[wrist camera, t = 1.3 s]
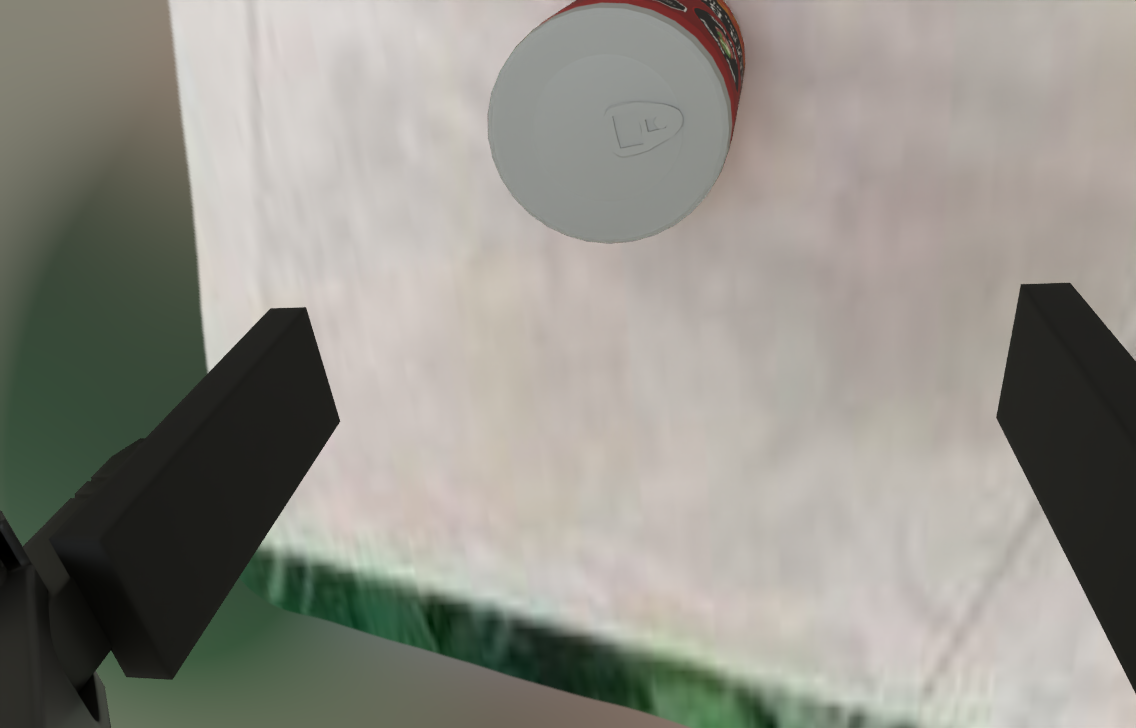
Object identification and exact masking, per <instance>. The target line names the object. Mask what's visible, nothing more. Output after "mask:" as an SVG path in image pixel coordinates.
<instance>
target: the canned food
mask: <svg viewBox="0 0 1136 728" xmlns="http://www.w3.org/2000/svg"><path fill="white" fill-rule="evenodd" d="M744 69H745V54H744V43H743V39H742V36H741V32H740V29H739V26H738V24H737V22H736V20H735V18H734V16H733V14H732V12H731V10H730V9H729V7H728V6H727V5H726V4H725V3H724V1H723V0H576V1H575V2H573V3H571V4H570V5H568V6H567V7H565V8H564V9H562V10H561V11H559V12H558V13H556V14H554V15H553V16H551V17H550V18H548V19H547V20H545V21H544V22H542V23H541V24H540V25H539V26H538V27H536V28H535V29H533V30H532V31H531V32H530V33H529V34H528V35H527V36H526V37H525V38H524V39H523V40H522V41H521V42H520V43H519V44H518V45H517V46H516V48H515V49H514V51H513V52H512V53H511V55H510V57H509V58H508V60H507V61H506V63H505V64H504V66H503V67H502V69H501V70H500V72H499V75H498V78H497V80H496V83H495V85H494V88H493V90H492V93H491V99H490V105H489V110H488V139H489V143H490V148H491V153H492V157H493V160H494V163H495V165H496V167H497V170H498V172H499V174H500V177H501V179H502V181H503V182H504V184H505V185H506V187H507V188H508V190H509V191H510V193H511V194H512V196H513V197H514V198H515V199H516V200H517V202H518V203H519V204H520V205H521V206H522V207H523V208H524V209H525V210H526V211H527V212H528V213H529V214H531V215H532V216H533V217H535V218H536V219H537V220H539V221H540V222H542V223H543V224H544V225H546V226H547V227H549V228H552V229H554V230H556V231H558V232H560V233H562V234H564V235H566V236H570V237H573V238H577V239H580V240H584V241H588V242H598V243H609V244H611V243H622V242H632V241H636V240H640V239H643V238H647V237H651V236H654V235H656V234H658V233H660V232H662V231H664V230H666V229H668V228H670V227H672V226H674V225H675V224H677V223H678V222H679V221H681V220H682V219H683V218H685V217H686V216H687V215H689V214H690V213H691V212H692V211H693V210H694V209H695V208H696V207H697V206H698V205H699V204H700V202H701V201H702V200H703V199H704V198H705V197H706V196H707V194H708V193H709V191H710V190H711V188H712V186H713V185H714V183H715V181H716V179H717V178H718V176H719V174H720V173H721V171H722V168H723V165H724V163H725V160H726V157H727V154H728V151H729V148H730V143H731V141H732V136H733V131H734V126H735V120H736V115H737V110H738V104H739V99H740V94H741V88H742V83H743V76H744Z"/></svg>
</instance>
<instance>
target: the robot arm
mask: <svg viewBox="0 0 1136 728" xmlns="http://www.w3.org/2000/svg"><path fill="white" fill-rule="evenodd" d="M996 418H997V420H998V422H999V424H1000V426H1001V428H1002V430H1003V432H1004V434H1005V436H1006V438H1007V440H1008V442H1009V444H1010V446H1011V448H1012V450H1013V452H1014V454H1015V456H1016V458H1017V460H1018V462H1019V464H1020V465H1021V467H1022V469H1023V471H1024V473H1025V475H1026V477H1027V479H1028V481H1029V483H1030V485H1031V487H1032V489H1033V491H1034V493H1035V495H1036V497H1037V499H1038V501H1039V503H1040V505H1041V507H1042V509H1043V511H1044V513H1045V515H1046V517H1047V519H1048V521H1049V523H1050V525H1051V527H1052V529H1053V531H1054V533H1055V535H1056V537H1057V539H1058V541H1059V543H1060V545H1061V547H1062V549H1063V551H1064V553H1065V555H1066V557H1067V559H1068V561H1069V562H1070V564H1071V566H1072V568H1073V570H1074V572H1075V574H1076V576H1077V578H1078V580H1079V582H1080V584H1081V586H1082V588H1083V590H1084V592H1085V594H1086V596H1087V598H1088V600H1089V602H1090V604H1091V606H1092V608H1093V610H1094V612H1095V614H1096V616H1097V618H1098V620H1099V622H1100V624H1101V626H1102V628H1103V630H1104V632H1105V634H1106V636H1107V638H1108V640H1109V642H1110V644H1111V646H1112V648H1113V650H1114V652H1115V654H1116V656H1117V658H1118V660H1119V661H1120V663H1121V665H1122V667H1123V669H1124V671H1125V673H1126V675H1127V677H1128V679H1129V681H1130V683H1131V685H1132V687H1133V689H1134V691H1135V693H1136V361H1135V360H1134V359H1133V358H1132V356H1131V355H1130V354H1129V353H1128V352H1127V350H1126V349H1125V348H1124V347H1123V346H1122V344H1121V343H1120V342H1119V341H1118V340H1117V338H1116V337H1115V336H1114V335H1113V334H1112V332H1111V331H1110V330H1109V329H1108V328H1107V326H1106V325H1105V324H1104V323H1103V322H1102V320H1101V319H1100V318H1099V317H1098V316H1097V314H1096V313H1095V312H1094V311H1093V310H1092V308H1091V307H1090V306H1089V305H1088V304H1087V302H1086V301H1085V300H1084V299H1083V298H1082V296H1081V295H1080V294H1079V293H1078V292H1077V290H1076V289H1075V288H1074V287H1073V286H1072V284H1071V283H1048V284H1021V287H1020V293H1019V298H1018V303H1017V309H1016V314H1015V320H1014V325H1013V330H1012V336H1011V341H1010V347H1009V352H1008V357H1007V363H1006V368H1005V373H1004V379H1003V384H1002V390H1001V395H1000V400H999V406H998V411H997V417H996ZM339 422H340V419H339V416H338V412H337V409H336V406H335V402H334V399H333V396H332V392H331V389H330V386H329V382H328V379H327V376H326V372H325V369H324V366H323V362H322V359H321V356H320V352H319V349H318V346H317V342H316V339H315V336H314V332H313V329H312V326H311V322H310V319H309V316H308V312H307V309H306V307H303V308H272V309H270V310H269V311H268V312H267V313H266V314H265V315H264V316H263V317H262V318H261V319H260V320H259V321H258V322H257V323H256V324H255V325H254V326H253V327H252V328H251V329H250V330H249V331H248V332H247V333H246V335H245V336H244V337H243V338H242V339H241V340H240V341H239V342H238V343H237V344H236V345H235V346H234V347H233V348H232V349H231V350H230V351H229V352H228V353H227V354H226V355H225V356H224V357H223V358H222V359H221V360H220V362H219V363H218V364H217V365H216V366H215V367H214V368H213V369H212V370H211V371H210V372H209V373H208V374H207V375H206V376H205V377H204V378H203V379H202V380H201V381H200V382H199V383H198V384H197V385H196V386H195V387H194V389H193V390H192V391H191V392H190V393H189V394H188V395H187V396H186V397H185V398H184V399H183V400H182V401H181V402H180V403H179V404H178V405H177V406H176V407H175V408H174V409H173V410H172V411H171V412H170V413H169V414H168V416H167V417H166V418H165V419H164V420H163V421H162V422H161V423H160V424H159V425H158V426H157V427H156V428H155V429H154V430H153V431H152V432H151V433H150V434H149V435H148V437H146V438H145V439H139V440H137V441H136V442H134V443H132V444H131V445H129V446H128V447H126V448H125V449H123V450H121V451H120V452H118V453H117V454H115V455H114V456H112V457H111V458H110V459H109V460H108V461H107V462H106V463H105V464H104V465H103V466H102V467H101V468H100V469H99V470H98V471H97V472H96V473H95V474H94V475H93V476H92V477H91V478H92V480H91V481H87V482H86V483H85V484H84V485H83V486H82V487H81V488H80V489H79V490H78V491H77V492H76V493H75V498H70V499H69V500H68V501H67V502H66V503H65V504H64V505H63V507H62V508H60V509H59V510H58V512H56V513H55V515H53V517H52V518H51V519H50V520H49V521H48V522H47V523H46V524H45V525H44V526H43V527H42V528H41V529H40V530H39V531H38V532H37V533H36V534H35V535H34V536H33V537H32V538H31V539H30V540H29V541H28V542H27V543H26V544H25V545H24V546H23V547H22V545H21V543H20V542H19V540H18V538H17V537H16V535H15V533H14V531H13V530H12V528H11V526H10V525H9V523H8V521H7V520H6V518H5V516H4V515H3V513H2V511H0V728H111V724H110V718H109V712H108V705H107V699H106V692H105V686H104V685H103V683H102V681H101V679H100V677H99V676H98V674H97V672H96V669H97V668H98V667H99V665H100V664H101V663H102V661H103V660H104V659H105V657H106V656H107V654H108V653H109V652H110V651H112V652H113V654H114V656H115V658H116V659H117V661H118V663H119V665H120V667H121V668H122V670H123V672H124V673H125V675H126V677H135V678H153V679H173V678H174V676H175V675H176V673H177V672H178V670H179V669H180V667H181V666H182V664H183V663H184V661H185V659H186V658H187V656H188V655H189V653H190V652H191V650H192V649H193V647H194V646H195V644H196V643H197V641H198V639H199V638H200V636H201V635H202V633H203V631H204V630H205V629H206V627H207V626H208V624H209V623H210V621H211V619H212V618H213V616H214V615H215V613H216V612H217V610H218V609H219V607H220V606H221V604H222V603H223V601H224V599H225V598H226V596H227V595H228V593H229V591H230V590H231V589H232V587H233V586H234V584H235V582H236V581H237V579H238V578H239V576H240V575H241V573H242V572H243V570H244V569H245V567H246V566H247V564H248V563H249V561H250V559H251V558H252V556H253V555H254V553H255V552H256V550H257V549H258V547H259V546H260V544H261V543H262V541H263V539H264V538H265V536H266V535H267V533H268V532H269V530H270V529H271V527H272V526H273V524H274V523H275V521H276V519H277V518H278V516H279V515H280V513H281V512H282V510H283V509H284V507H285V506H286V504H287V503H288V501H289V499H290V498H291V496H292V495H293V493H294V492H295V490H296V489H297V487H298V486H299V484H300V482H301V481H302V479H303V478H304V476H305V475H306V473H307V472H308V470H309V469H310V467H311V466H312V464H313V462H314V461H315V459H316V458H317V456H318V455H319V453H320V452H321V450H322V449H323V447H324V446H325V444H326V442H327V441H328V439H329V438H330V436H331V435H332V433H333V432H334V430H335V429H336V427H337V426H338V424H339Z"/></svg>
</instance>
